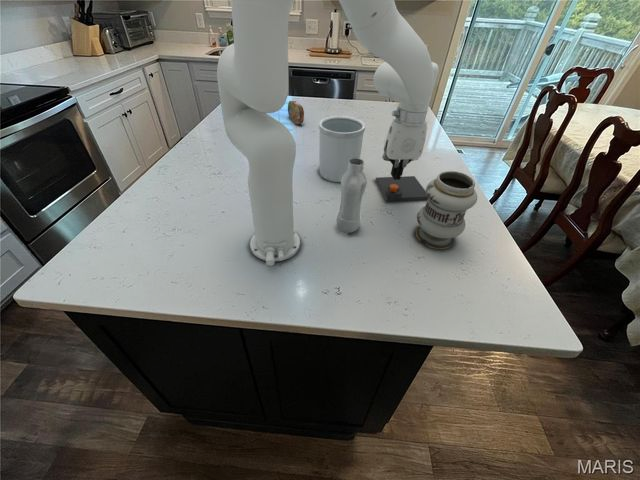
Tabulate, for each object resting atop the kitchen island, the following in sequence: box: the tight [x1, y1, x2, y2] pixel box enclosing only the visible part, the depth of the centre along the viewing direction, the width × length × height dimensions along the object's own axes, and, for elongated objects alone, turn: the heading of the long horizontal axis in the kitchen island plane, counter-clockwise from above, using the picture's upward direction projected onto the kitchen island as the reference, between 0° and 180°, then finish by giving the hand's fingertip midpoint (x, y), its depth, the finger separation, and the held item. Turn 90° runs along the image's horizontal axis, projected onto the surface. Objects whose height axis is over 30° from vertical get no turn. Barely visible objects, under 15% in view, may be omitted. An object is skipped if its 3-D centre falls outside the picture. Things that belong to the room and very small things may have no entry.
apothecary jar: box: [415, 170, 478, 250], centre depth 74 cm, size 12×12×18 cm
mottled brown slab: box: [287, 100, 305, 126], centre depth 138 cm, size 15×3×8 cm, turn 25°
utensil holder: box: [318, 115, 366, 183], centre depth 99 cm, size 15×15×18 cm
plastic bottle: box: [336, 158, 368, 234], centre depth 75 cm, size 6×7×20 cm
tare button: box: [389, 184, 398, 192], centre depth 92 cm, size 3×3×2 cm
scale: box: [374, 175, 428, 203], centre depth 97 cm, size 13×14×3 cm
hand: (395, 177), depth 89 cm, fingers closed
